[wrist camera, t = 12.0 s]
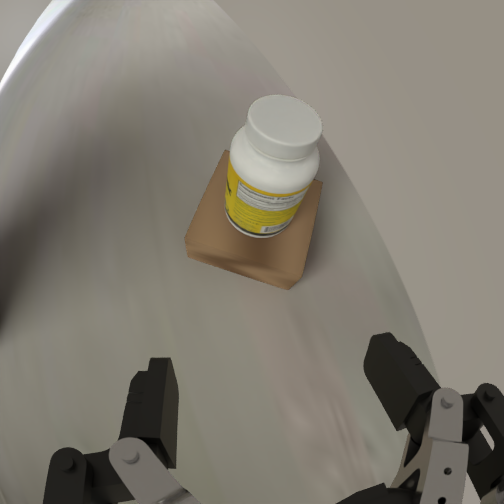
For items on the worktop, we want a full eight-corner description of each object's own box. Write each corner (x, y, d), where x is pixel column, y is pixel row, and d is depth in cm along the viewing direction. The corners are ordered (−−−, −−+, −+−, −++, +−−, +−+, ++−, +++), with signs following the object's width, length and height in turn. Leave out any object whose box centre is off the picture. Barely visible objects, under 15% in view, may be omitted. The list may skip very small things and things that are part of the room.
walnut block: (187, 256, 25) (184, 237, 21) (222, 175, 28) (224, 149, 25) (287, 290, 25) (301, 276, 21) (309, 204, 29) (322, 182, 25)
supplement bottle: (240, 170, 24) (259, 76, 15) (300, 197, 24) (345, 111, 15) (211, 222, 22) (216, 128, 13) (277, 252, 22) (324, 174, 13)
